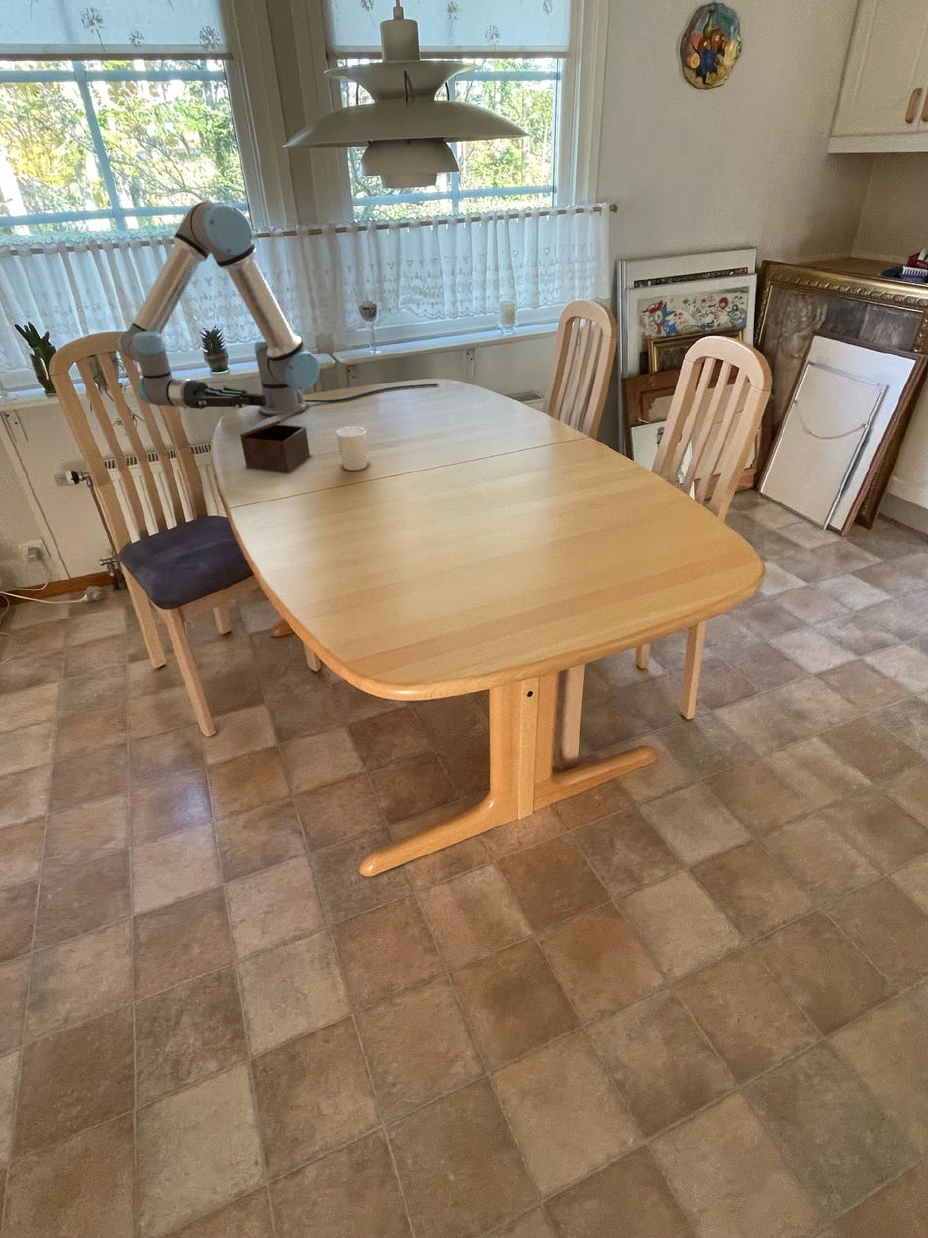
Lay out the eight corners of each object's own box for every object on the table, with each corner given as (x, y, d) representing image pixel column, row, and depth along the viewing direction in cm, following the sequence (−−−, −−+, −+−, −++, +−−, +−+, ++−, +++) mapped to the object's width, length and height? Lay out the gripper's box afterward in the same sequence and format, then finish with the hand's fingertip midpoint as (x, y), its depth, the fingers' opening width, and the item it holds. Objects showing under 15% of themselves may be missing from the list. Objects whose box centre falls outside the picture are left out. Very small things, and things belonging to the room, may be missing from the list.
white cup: (355, 473, 190) (351, 438, 184) (335, 467, 194) (330, 432, 188) (375, 464, 195) (371, 429, 189) (355, 458, 199) (351, 424, 193)
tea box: (310, 456, 201) (305, 426, 196) (288, 472, 191) (283, 442, 187) (269, 451, 205) (264, 422, 200) (246, 467, 195) (240, 437, 190)
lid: (303, 408, 193) (301, 405, 193) (280, 423, 184) (279, 420, 183) (264, 422, 200) (263, 419, 199) (240, 437, 190) (239, 434, 190)
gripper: (207, 400, 202) (278, 406, 195) (179, 414, 192) (253, 421, 185) (201, 374, 197) (274, 379, 191) (172, 387, 187) (248, 393, 181)
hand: (264, 400), depth 188 cm, fingers closed
